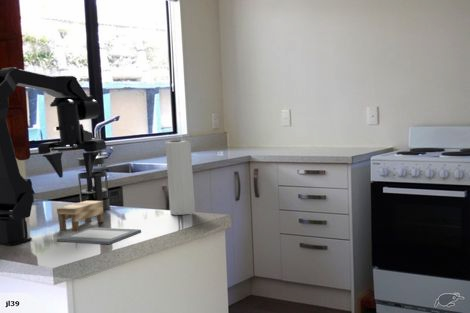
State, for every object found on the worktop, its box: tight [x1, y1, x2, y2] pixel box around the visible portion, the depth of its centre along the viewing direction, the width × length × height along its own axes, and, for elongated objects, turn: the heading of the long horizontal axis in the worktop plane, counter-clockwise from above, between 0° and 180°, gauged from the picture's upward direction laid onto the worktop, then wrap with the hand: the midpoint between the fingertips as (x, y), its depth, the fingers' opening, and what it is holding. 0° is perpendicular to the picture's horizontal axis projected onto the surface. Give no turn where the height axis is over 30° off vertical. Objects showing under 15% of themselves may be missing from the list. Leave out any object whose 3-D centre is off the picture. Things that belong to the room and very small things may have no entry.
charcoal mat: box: [56, 226, 142, 245], centre depth 148 cm, size 13×16×1 cm
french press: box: [76, 137, 111, 212], centre depth 187 cm, size 12×9×23 cm
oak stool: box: [56, 201, 104, 232], centre depth 163 cm, size 12×6×6 cm, turn 154°
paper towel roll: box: [164, 140, 196, 216], centre depth 171 cm, size 7×6×21 cm
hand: (75, 176), depth 166 cm, fingers open, 9 cm apart
